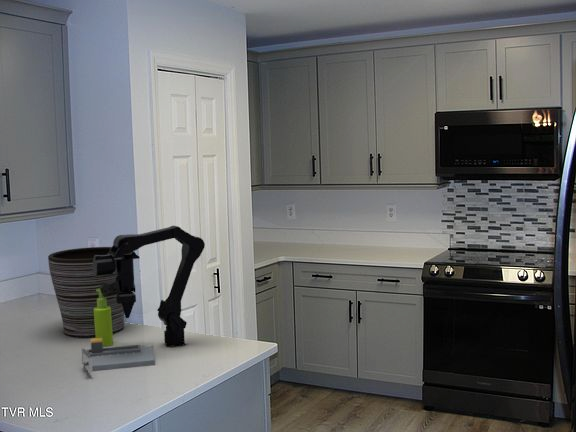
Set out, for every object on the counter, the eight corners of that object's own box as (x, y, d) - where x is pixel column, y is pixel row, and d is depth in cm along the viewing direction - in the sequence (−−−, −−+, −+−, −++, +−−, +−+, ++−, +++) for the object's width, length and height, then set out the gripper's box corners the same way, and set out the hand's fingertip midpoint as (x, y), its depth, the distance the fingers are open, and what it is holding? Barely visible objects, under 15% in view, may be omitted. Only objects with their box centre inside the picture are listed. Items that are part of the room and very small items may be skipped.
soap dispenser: (110, 347, 234) (106, 291, 232) (92, 346, 236) (88, 290, 234) (118, 342, 240) (115, 287, 238) (101, 341, 242) (98, 287, 240)
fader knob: (103, 350, 225) (102, 337, 224) (102, 353, 222) (102, 340, 221) (92, 351, 224) (91, 338, 223) (91, 354, 221) (91, 341, 220)
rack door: (92, 372, 204) (91, 357, 203) (85, 373, 203) (84, 359, 202) (85, 363, 212) (85, 349, 212) (78, 364, 211) (78, 350, 211)
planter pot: (91, 345, 237) (86, 262, 233) (35, 334, 252) (30, 256, 249) (150, 325, 262) (147, 249, 259) (96, 316, 278) (92, 244, 275)
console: (153, 350, 230) (152, 332, 229) (154, 364, 215) (154, 345, 214) (84, 356, 225) (83, 338, 224) (81, 371, 209) (80, 352, 209)
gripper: (101, 269, 232) (103, 313, 234) (99, 279, 214) (101, 327, 216) (134, 267, 235) (136, 310, 237) (134, 277, 217) (137, 324, 219)
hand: (127, 317), depth 227 cm, fingers closed
